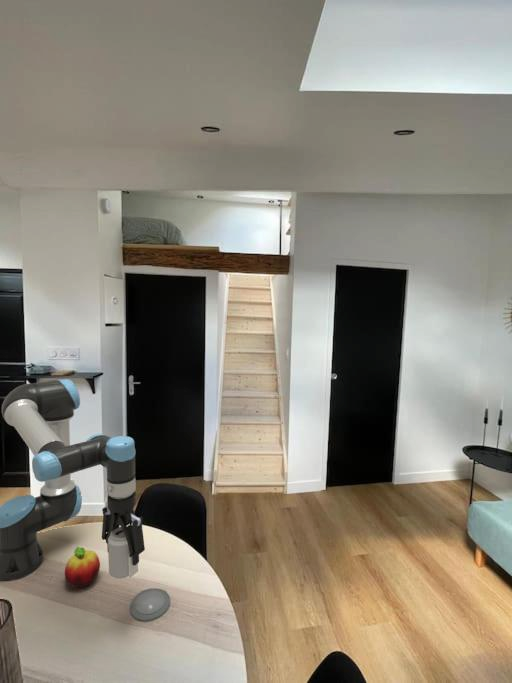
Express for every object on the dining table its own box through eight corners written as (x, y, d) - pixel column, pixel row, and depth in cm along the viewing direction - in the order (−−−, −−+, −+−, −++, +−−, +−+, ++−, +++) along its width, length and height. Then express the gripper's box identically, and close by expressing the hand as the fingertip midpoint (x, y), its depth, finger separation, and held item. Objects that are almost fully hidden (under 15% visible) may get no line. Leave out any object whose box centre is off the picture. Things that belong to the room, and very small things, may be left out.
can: (127, 558, 113) (126, 521, 112) (141, 570, 108) (140, 531, 107) (103, 572, 108) (102, 532, 106) (117, 584, 103) (116, 543, 102)
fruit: (69, 598, 119) (68, 568, 118) (61, 578, 127) (60, 550, 126) (104, 582, 126) (103, 554, 125) (94, 565, 134) (94, 538, 133)
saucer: (121, 611, 114) (121, 608, 114) (149, 585, 125) (149, 582, 125) (151, 627, 109) (151, 624, 109) (177, 599, 119) (177, 596, 119)
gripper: (86, 489, 108) (88, 564, 110) (137, 509, 98) (138, 590, 100) (108, 478, 114) (109, 549, 116) (158, 496, 104) (159, 573, 106)
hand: (123, 568), depth 108 cm, fingers closed on can, 7 cm apart
